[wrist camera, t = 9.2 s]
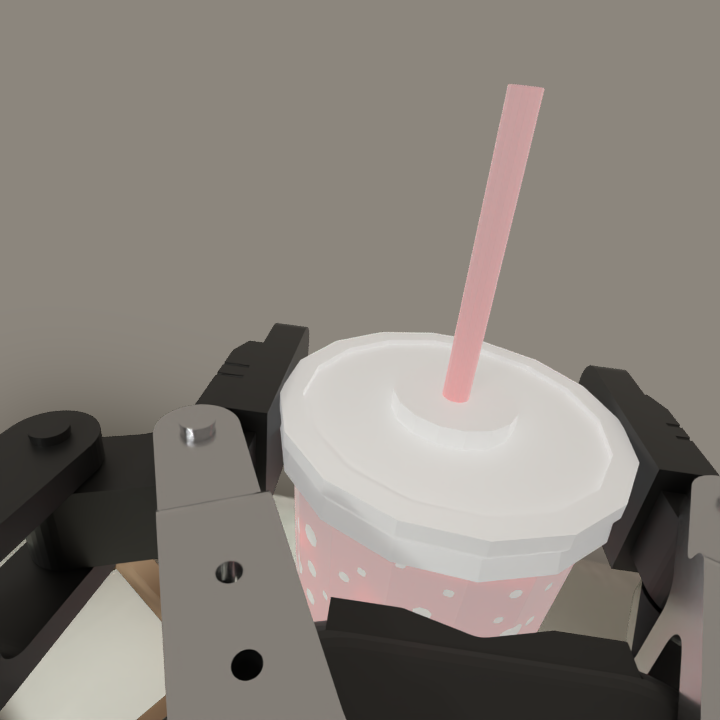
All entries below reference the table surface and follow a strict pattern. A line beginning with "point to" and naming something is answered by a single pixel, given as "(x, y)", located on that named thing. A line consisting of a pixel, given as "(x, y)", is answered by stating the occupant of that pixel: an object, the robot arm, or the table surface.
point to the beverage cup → (451, 453)
